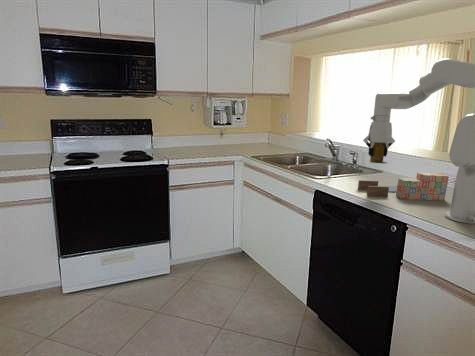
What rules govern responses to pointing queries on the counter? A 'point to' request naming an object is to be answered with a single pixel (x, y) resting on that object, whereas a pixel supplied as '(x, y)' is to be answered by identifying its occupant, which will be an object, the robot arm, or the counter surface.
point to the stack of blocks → (423, 187)
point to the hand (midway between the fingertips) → (377, 155)
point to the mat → (392, 188)
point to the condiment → (378, 153)
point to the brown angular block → (373, 188)
